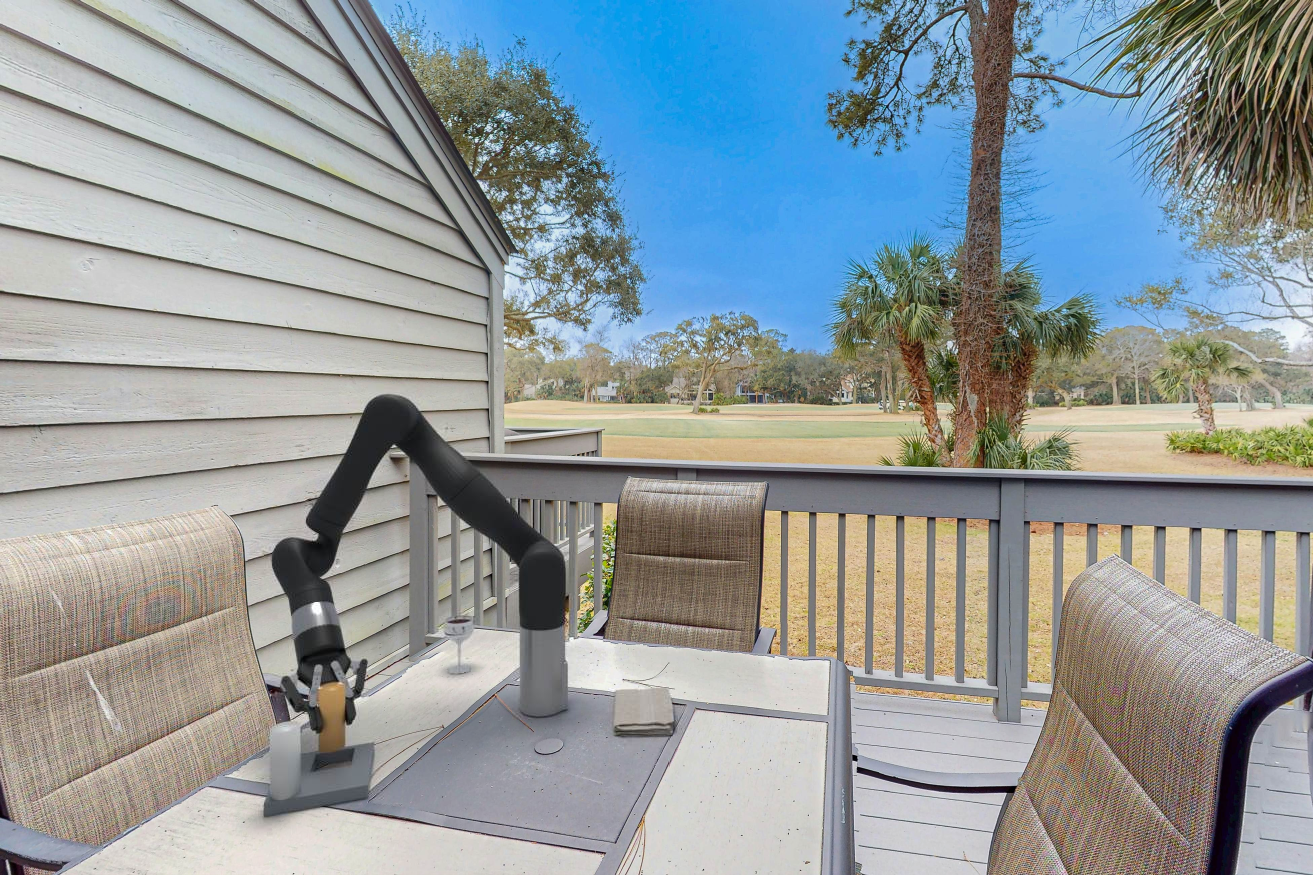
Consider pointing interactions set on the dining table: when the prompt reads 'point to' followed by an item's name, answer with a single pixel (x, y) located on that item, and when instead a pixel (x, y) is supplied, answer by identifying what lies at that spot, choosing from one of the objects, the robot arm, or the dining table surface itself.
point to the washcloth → (643, 712)
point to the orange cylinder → (332, 716)
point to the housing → (313, 773)
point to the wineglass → (459, 635)
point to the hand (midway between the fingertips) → (335, 726)
